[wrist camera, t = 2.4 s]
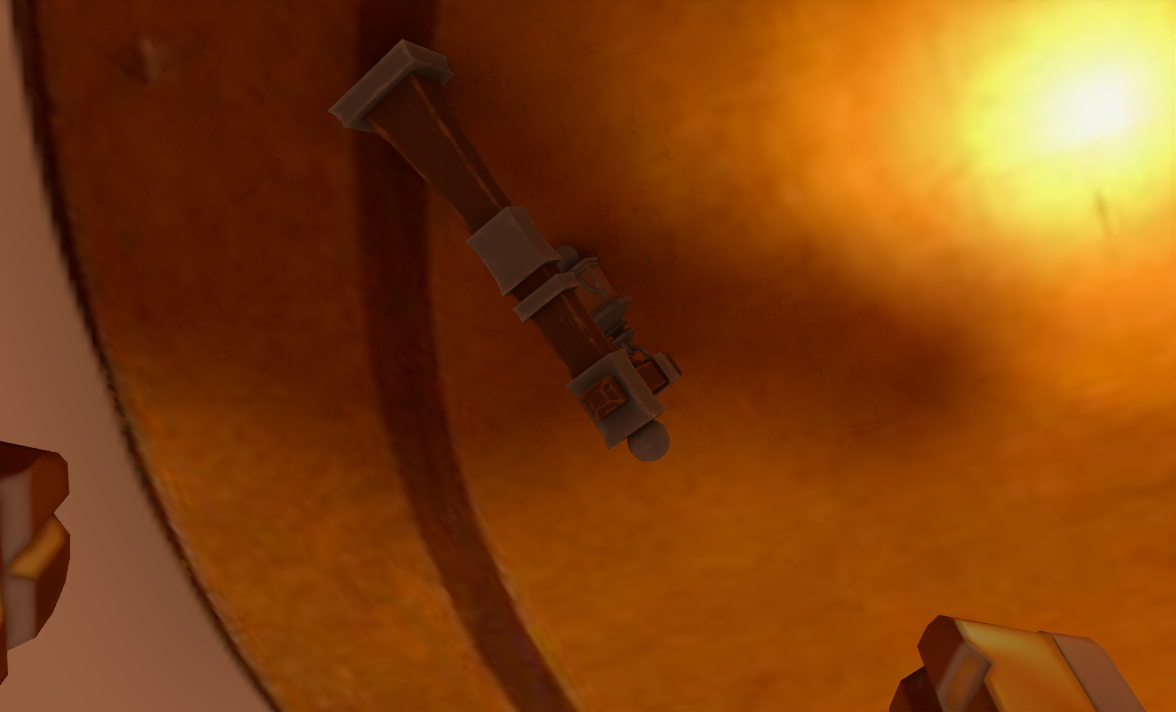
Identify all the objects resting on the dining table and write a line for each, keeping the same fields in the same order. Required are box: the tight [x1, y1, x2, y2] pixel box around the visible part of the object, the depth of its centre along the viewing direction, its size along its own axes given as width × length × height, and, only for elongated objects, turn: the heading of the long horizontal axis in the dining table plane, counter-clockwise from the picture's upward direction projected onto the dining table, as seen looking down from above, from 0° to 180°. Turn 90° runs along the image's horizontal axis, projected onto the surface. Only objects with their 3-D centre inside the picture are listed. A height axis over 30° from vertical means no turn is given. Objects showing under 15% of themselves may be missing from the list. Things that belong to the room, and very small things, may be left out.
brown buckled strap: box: [327, 39, 683, 462], centre depth 18 cm, size 2×8×4 cm, turn 41°
